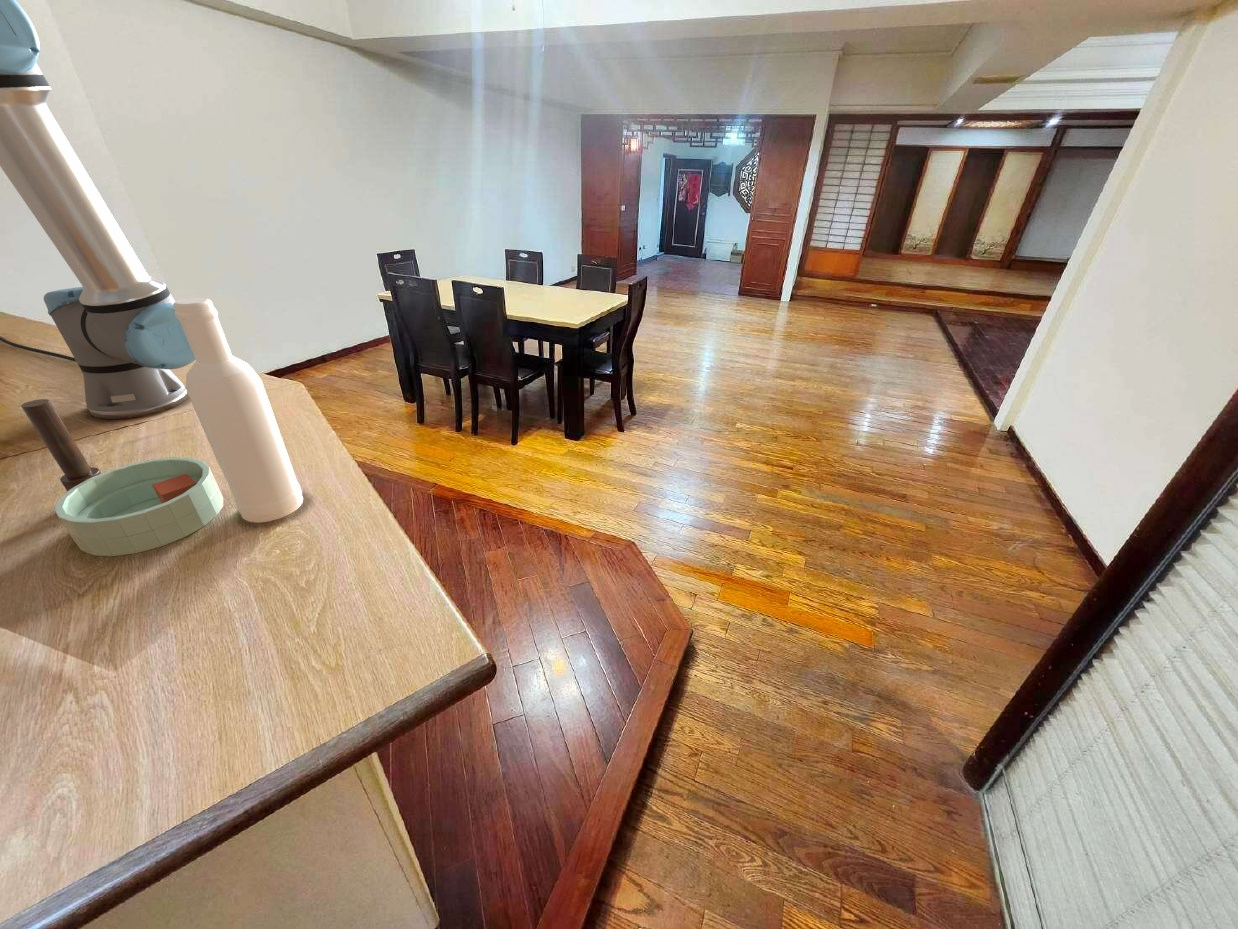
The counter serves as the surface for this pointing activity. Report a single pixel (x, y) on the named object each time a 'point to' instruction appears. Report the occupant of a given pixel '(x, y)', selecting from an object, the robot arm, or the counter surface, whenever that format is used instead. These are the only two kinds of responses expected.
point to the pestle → (59, 443)
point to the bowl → (138, 507)
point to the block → (173, 487)
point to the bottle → (237, 419)
